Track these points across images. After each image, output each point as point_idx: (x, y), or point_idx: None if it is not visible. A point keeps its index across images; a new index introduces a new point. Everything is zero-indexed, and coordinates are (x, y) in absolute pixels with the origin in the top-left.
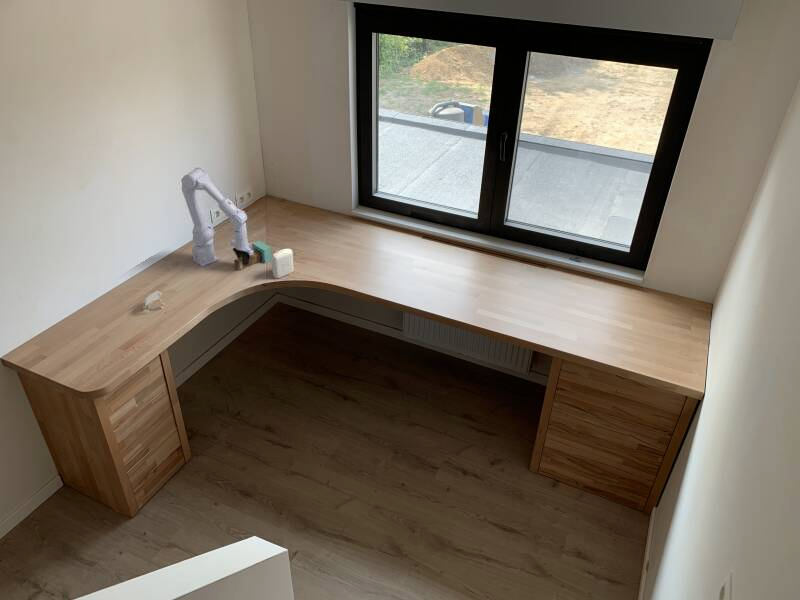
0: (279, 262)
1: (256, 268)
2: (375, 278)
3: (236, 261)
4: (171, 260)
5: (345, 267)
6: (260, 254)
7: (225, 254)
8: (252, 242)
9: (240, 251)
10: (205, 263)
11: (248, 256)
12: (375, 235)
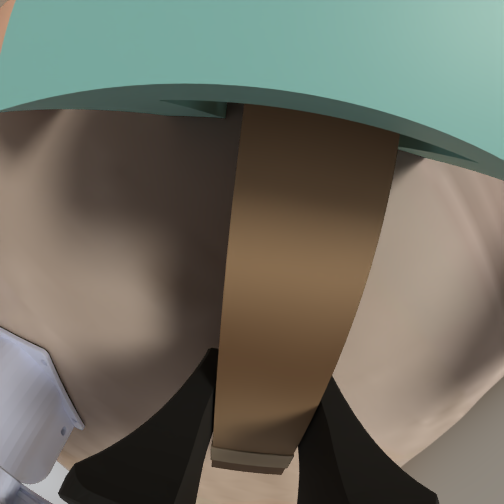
0: None
1: (405, 302)
2: None
3: (252, 471)
4: None
5: None
6: (388, 143)
7: (8, 278)
8: (2, 18)
9: (189, 497)
10: (70, 416)
11: (355, 454)
12: None
